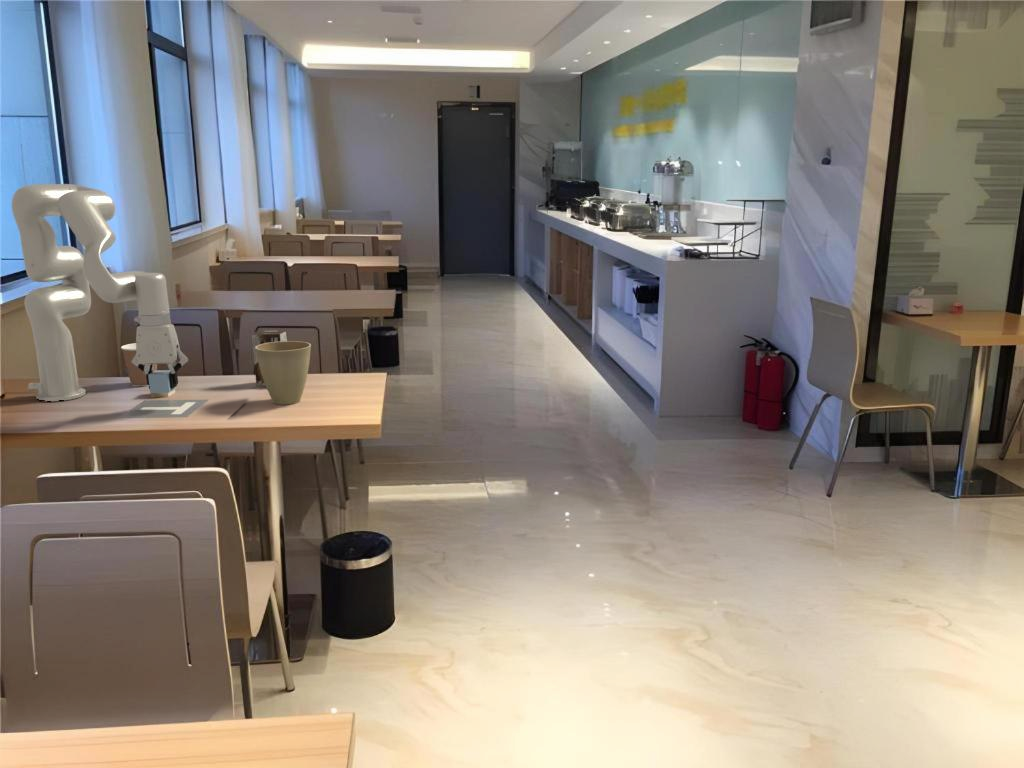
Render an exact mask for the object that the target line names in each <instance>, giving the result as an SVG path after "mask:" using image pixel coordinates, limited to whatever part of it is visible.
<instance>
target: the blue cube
mask: <svg viewBox="0 0 1024 768" xmlns="http://www.w3.org/2000/svg"><path fill="white" fill-rule="evenodd" d="M169 374H170V370H168V369H167V370H166V369H165V370H160V369H159V370H158V369H157V371H154V372H152V373H150V374H149V375H148V378H149V386H150V389H149V392H150V393H170V392H171V391H173V390H174V389H175V390H176V389H177V386H176V387H175V388H170V379H169ZM149 386H148V387H149Z"/></svg>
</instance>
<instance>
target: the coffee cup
mask: <svg viewBox="0 0 1024 768" xmlns="http://www.w3.org/2000/svg"><path fill="white" fill-rule="evenodd" d="M120 349H121V350H122V353H123V359H124V361H125V367H126V372H127V374H128V377H129V381H130V384H131V386H132V387H135V386H144V387H148V386H147V379H146V374H144V372H143V371H142V370H141V369H139V368H138V366H136V365H134V364H133V363H132V362H131V361H132V359H133V358H134V356H135V355H136V342H134V343H128V344H124V345H122V346H120ZM152 371H153V372H154V371H158V364H153V369H152Z"/></svg>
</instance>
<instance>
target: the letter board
mask: <svg viewBox="0 0 1024 768" xmlns="http://www.w3.org/2000/svg"><path fill="white" fill-rule="evenodd" d="M209 400H210V399H160V400H159V399H155V400H154V399H153V400H152V399H151V400H150V399H149V400H148V399H147V400H143V401H142V402H139V404H137V405H135V406H134V407H132V408H131V409H129V410H128V411H126V412H124V413H123V414H121V415H120V416H118V417H117V419H159V418H160V419H161V418H164V419H166V418H188V417H189V416H190V415H192V414H193V413H194V412H195V411H197V410H198V409H200V408H201V407H202V406H203V405H205V403H207V402H208V401H209Z"/></svg>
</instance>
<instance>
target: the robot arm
mask: <svg viewBox="0 0 1024 768" xmlns="http://www.w3.org/2000/svg"><path fill="white" fill-rule="evenodd" d="M11 211H12V214H13V215H12V216H13V218H14V221H15V223H16V226H17V228H18V233H19V237H20V243H21V251H22V255H23V263H24V269H25V271H26V275H27V277H28V278H29V279H30V280H31V281H32V282H35V283H48V282H60V281H61V284H59V285H50V286H44V287H43V286H42V287H38V288H35V289H33V290H31V291H29V292H28V293H27V294H26V296H25V298H24V303H23V304H24V307H25V308H24V309H25V311H26V314H27V317H28V321H29V324H30V326H31V332H32V334H33V335H32V337H33V342H34V349H35V353H36V355H35V356H36V362H37V367H38V368H37V369H38V374H39V382H38V383H37V382H29V383H28V385H27V389H28V391H31V392H32V391H36V392H37V394H36V395H35V397H36V400H37V399H39V400H45V401H44V402H47V401H51V402H60V401H59V400H64V401H70V400H74V399H79V398H82V397H83V396H85V395H86V392H87V391H86V389H85V388H82V387H80V385H79V378H78V377H79V376H78V372H77V369H78V368H77V363H76V356H75V349H74V341H73V336H72V333H71V331H70V329H69V328H68V327H67V325H66V324H65V323H64V321H63V320H65V319H70V318H77V317H81V316H84V315H86V314H87V313H89V311H90V309H91V305H92V296H91V295H92V294H91V288H92V290H93V291H94V293H95V294H96V295H97V296H98V297H99V298H100V299H101V300H102V301H104V302H106V303H109V304H117V303H124V302H129V301H136V303H137V310H138V315H137V316H134V317H133V321H134V322H137V323H138V324H139V325H138V326H137V327H136V332H135V333H136V335H135V343H136V355H135V356H134V358H133V359H132V361H131V362H132V363H133V364H134V365H136V366H138V368H139V369H141V370H142V371H143V372H144V374H146V379H147V385H149V378H148V375H149V374H150V373H152V372H153V371H152V369H153V364H157V365H167V367H168V369H169V370H170V374H169V379H170V388H175V387H176V388H177V387H178V384H179V379H178V372H179V370H180V369H181V368H182V367H183V366H184V365H185V364H186V363H187V362H188V361H189V358H188V357H187V356H186V355H185V354H184V353H183V352H182V350H181V348H180V344H179V342H180V341H179V338H178V334H177V330H176V328H175V325H174V324H173V323H172V321H171V312H170V303H169V295H168V294H169V293H168V286H167V279H166V276H165V275H164V274H163V273H162V272H161V273H160V272H146V271H142V270H141V271H140V270H132V271H131V270H130V271H122V272H115V273H110V271H109V270H108V269H107V267H106V266H105V264H104V262H103V260H102V256H101V254H103V253H104V252H106V251H107V250H108V249H110V248H111V247H112V246H113V245H114V243H115V242H116V238H117V237H116V234H115V232H114V231H113V230H112V228H111V226H110V225H109V224H108V222H109V221H110V220H112V219H113V218H114V217H115V215H116V205H115V202H114V200H113V199H112V197H111V196H110V195H109V194H108V193H107V192H105V191H103V190H100V189H95V188H92V187H88V186H87V187H86V186H83V185H78V184H74V183H71V184H70V183H56V184H55V183H52V184H51V183H37V184H35V183H34V184H29V185H24V186H22V187H19V188H17V189H16V191H15V192H14V193H13V196H12V199H11ZM59 216H60V217H61V216H62V218H63V220H64V221H65V222H66V224H67V225H68V227H69V229H70V230H71V231H72V233H73V234H74V235H75V237H76V239H77V240H78V242H79V243H80V245H81V246H82V247H83V249H84V252H83V253H82V252H81V251H80V250H79V249H77V248H76V247H74V246H71V245H60V246H58V245H57V241H56V240H57V239H56V232H55V230H54V228H53V226H52V225H51V223H50V222H49V221H48V220H47V219H46V218H45V217H59ZM90 287H91V288H90ZM179 360H180V361H179ZM177 361H178V362H177ZM148 389H149V390H150V386H148ZM39 400H38V401H39Z"/></svg>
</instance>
